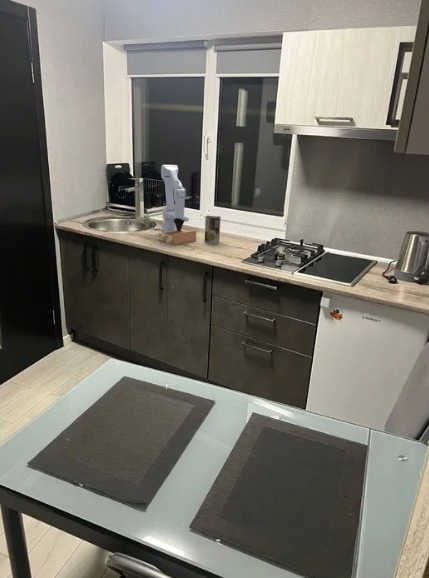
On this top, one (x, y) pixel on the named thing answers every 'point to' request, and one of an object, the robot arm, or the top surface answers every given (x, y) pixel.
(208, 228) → the coffee box
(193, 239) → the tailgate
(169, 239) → the cart bed
